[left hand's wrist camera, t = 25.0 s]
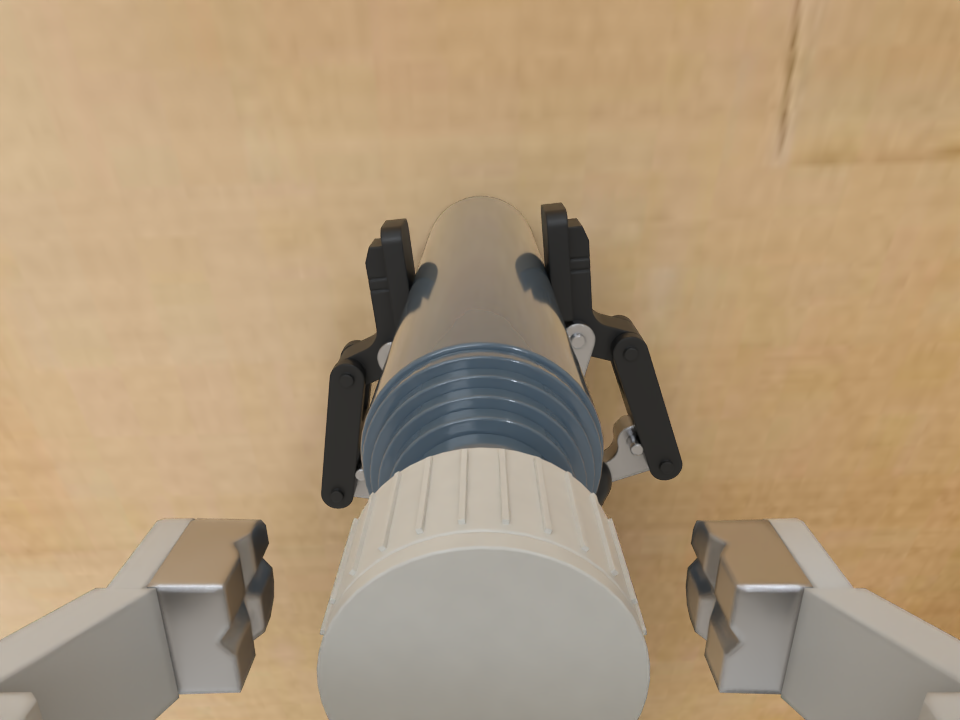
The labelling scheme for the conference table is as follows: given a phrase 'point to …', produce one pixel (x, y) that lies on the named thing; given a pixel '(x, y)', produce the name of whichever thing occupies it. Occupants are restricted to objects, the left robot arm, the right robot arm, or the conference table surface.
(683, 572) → the conference table surface
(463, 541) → the cap
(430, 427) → the bottle
